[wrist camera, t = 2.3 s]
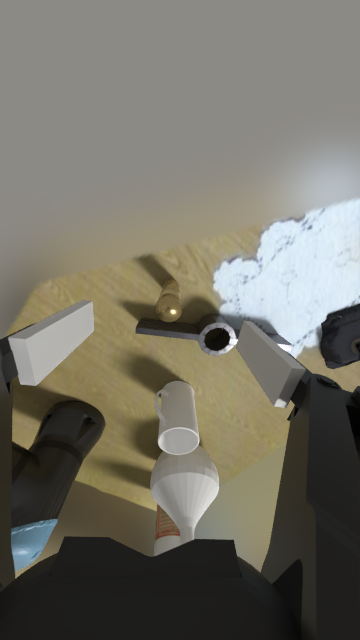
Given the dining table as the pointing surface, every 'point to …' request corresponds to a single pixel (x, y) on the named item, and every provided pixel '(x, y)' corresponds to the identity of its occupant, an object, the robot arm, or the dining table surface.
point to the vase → (185, 487)
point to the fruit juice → (165, 533)
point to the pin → (169, 302)
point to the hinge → (202, 333)
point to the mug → (177, 418)
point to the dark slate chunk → (341, 337)
